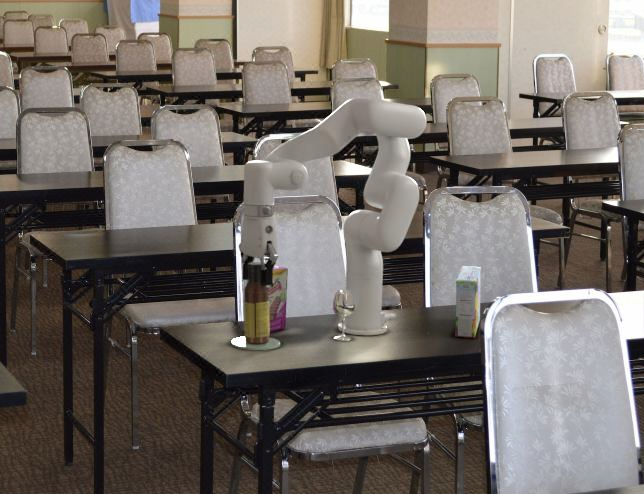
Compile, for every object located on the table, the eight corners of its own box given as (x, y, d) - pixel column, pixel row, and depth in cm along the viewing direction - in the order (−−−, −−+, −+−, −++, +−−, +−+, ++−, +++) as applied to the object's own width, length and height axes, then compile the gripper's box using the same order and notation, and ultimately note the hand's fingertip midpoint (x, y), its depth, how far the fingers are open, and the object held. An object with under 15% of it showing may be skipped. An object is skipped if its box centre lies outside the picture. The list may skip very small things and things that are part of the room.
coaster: (263, 336, 315) (263, 334, 315) (289, 346, 304) (289, 344, 304) (222, 341, 309) (222, 339, 309) (248, 352, 298) (248, 349, 298)
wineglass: (357, 337, 315) (358, 291, 314) (350, 342, 310) (351, 295, 309) (335, 334, 318) (337, 289, 316) (328, 339, 312) (329, 293, 311)
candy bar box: (258, 335, 315) (259, 272, 313) (244, 332, 319) (245, 269, 317) (287, 329, 323) (288, 267, 321) (272, 325, 327) (274, 264, 325)
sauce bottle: (271, 339, 309) (273, 261, 306) (267, 345, 303) (269, 265, 300) (245, 338, 310) (246, 260, 308) (241, 343, 304) (242, 264, 302)
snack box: (459, 319, 338) (461, 265, 336) (480, 321, 336) (482, 266, 334) (453, 337, 317) (455, 279, 315) (475, 338, 316) (478, 280, 314)
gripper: (291, 215, 297) (289, 287, 299) (252, 206, 312) (251, 274, 314) (265, 216, 293) (263, 290, 295) (227, 207, 308) (226, 277, 310)
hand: (257, 281), depth 305 cm, fingers open, 7 cm apart
